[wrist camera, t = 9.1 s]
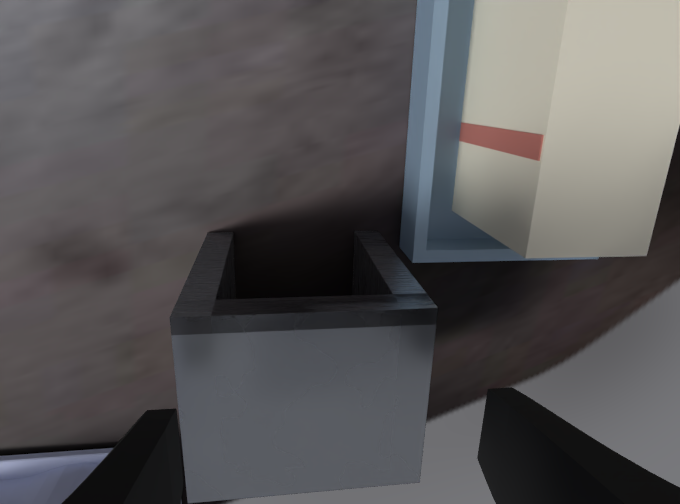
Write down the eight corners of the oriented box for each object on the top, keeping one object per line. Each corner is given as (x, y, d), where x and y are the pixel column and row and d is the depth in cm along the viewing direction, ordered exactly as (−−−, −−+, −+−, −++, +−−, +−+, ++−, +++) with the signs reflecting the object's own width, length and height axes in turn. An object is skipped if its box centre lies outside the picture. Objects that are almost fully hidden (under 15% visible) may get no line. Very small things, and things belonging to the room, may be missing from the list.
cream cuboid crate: (450, 210, 19) (523, 258, 14) (488, -140, 16) (610, -270, 10) (541, 210, 20) (648, 255, 14) (599, -128, 16) (774, -244, 11)
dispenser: (216, 362, 21) (187, 503, 14) (207, 232, 19) (169, 317, 12) (370, 354, 22) (419, 482, 15) (377, 230, 20) (438, 307, 13)
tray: (399, 247, 20) (412, 262, 18) (432, -204, 15) (455, -246, 13) (569, 244, 21) (598, 258, 19) (651, -177, 16) (700, -212, 14)
